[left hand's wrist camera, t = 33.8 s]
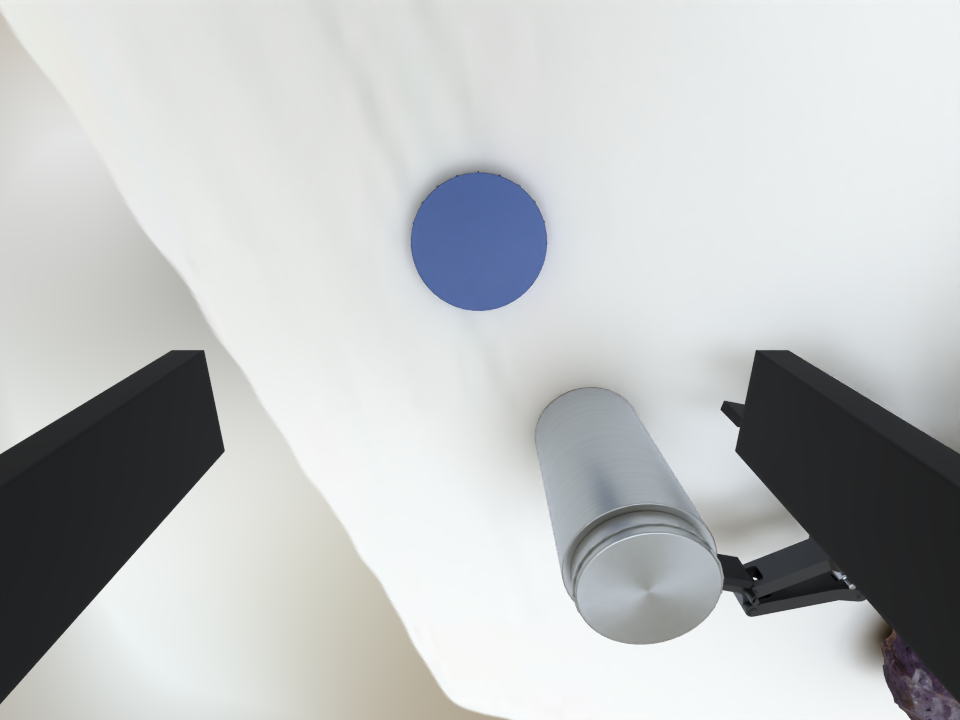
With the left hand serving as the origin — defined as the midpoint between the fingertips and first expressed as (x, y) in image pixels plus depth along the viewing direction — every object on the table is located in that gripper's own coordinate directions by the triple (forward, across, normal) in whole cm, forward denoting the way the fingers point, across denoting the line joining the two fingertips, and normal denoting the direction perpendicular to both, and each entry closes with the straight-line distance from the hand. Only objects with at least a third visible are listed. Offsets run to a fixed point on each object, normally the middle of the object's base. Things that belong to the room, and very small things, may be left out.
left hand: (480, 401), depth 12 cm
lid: (+27, 0, 0) cm, 27 cm away
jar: (+28, +9, -17) cm, 34 cm away
